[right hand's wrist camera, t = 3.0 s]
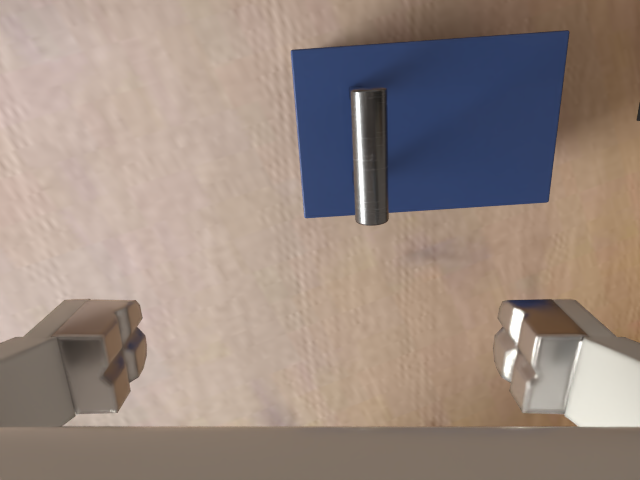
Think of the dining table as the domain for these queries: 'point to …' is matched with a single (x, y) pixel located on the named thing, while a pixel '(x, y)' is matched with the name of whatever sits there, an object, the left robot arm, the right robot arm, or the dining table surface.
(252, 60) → the dining table surface
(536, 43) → the lid
